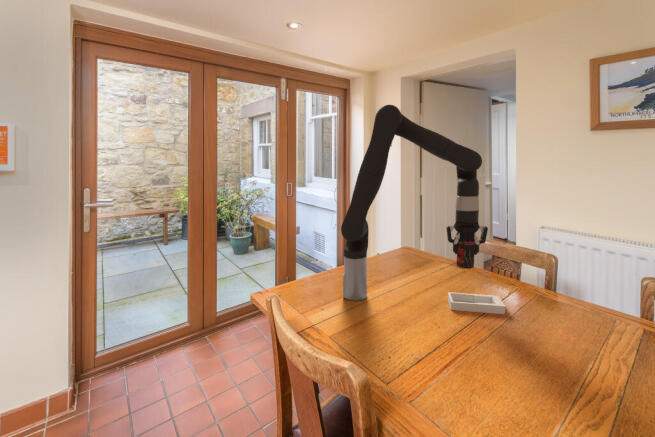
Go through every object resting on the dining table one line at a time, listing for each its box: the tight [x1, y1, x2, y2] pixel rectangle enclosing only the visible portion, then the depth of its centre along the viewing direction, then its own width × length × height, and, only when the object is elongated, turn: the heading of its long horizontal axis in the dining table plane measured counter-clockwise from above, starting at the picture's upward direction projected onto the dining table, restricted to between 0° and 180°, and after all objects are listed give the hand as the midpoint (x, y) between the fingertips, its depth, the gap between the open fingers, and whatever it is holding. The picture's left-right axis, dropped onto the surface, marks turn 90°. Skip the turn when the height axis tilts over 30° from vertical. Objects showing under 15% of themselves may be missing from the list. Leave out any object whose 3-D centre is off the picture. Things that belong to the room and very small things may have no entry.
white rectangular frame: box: [447, 291, 506, 315], centre depth 118 cm, size 18×9×3 cm, turn 77°
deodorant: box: [455, 227, 476, 270], centre depth 115 cm, size 6×6×15 cm
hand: (465, 253), depth 116 cm, fingers closed on deodorant, 6 cm apart
